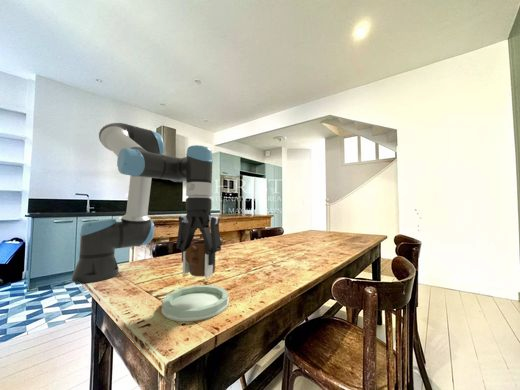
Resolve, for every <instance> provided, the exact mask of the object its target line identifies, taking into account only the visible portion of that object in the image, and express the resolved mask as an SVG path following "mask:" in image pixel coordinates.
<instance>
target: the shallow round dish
mask: <svg viewBox="0 0 520 390" xmlns="http://www.w3.org/2000/svg"><path fill="white" fill-rule="evenodd" d="M229 304H230V298H229V291H227V290H226V289H225V288H223V287H222V286H217V285H211V284H203V285H202V284H200V285H190V286H187V287H182V288H178V289H176V290H174V291H172V292H170V293H167V294H166V295H165V297H164V298H163V299H162V301H161V314H162V316H163V317H164V318H166V319H168V320H170V321H176V322H189V323H190V322H199V321H203V320H206V319H207V320H208V319H211V318H213V317H216V316H218V315H220V314H221V313H224V312H225V310H226V309H228V307H229Z"/></svg>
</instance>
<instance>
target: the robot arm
mask: <svg viewBox="0 0 520 390" xmlns="http://www.w3.org/2000/svg"><path fill="white" fill-rule="evenodd" d="M98 139H99V142H100V143H101V145H102V146H103V147H104V148H106V149H107V150H108V151H111V152H113V154H114V155H116V157H117V162H116V163H117V165H116V166H117V170H118V172H119V173H120V174H122V175H125V176H129V185H128V186H129V187H128V193H127V204H126V213H125V214H124V215H122V216H121V221H117V219H116V218H108V219H107V218H104V219H98V220H93V221H91V220H90V221H87V222H84V223H82V225H81V228H80V232H79V236H80V238H79V239H80V241H79V254H78V255H79V256H78V261H77V263H76V266H75V268H74V269H73V273H72V277H71V279H72V280H71V281H72V282H74V283H79V284H80V283H81V284H82V283H94V282H99V281H104V280H107V279H112V278H113V277H114V278H115V277H116V276H118V275H119V269H120V268H119V266H118V262H117V260H116V256H115V250H117V249H125V248H133V247H141V246H146V245H149V244H150V242H151V241H152V240H153V238H154V234H155V224H154V222H153V220H151V217H150V215H149V214H148V212H149V206H150V205H149V203H150V195H151V188H152V187H151V186H152V179H161V180H167V181H168V180H169V181H172V182H175V183H183V182H185V184H186V186H185V187H186V189H185V192H186V193H185V195H186V197H187V198H186V199H185V210H186V211H187V213H186V215H184V216H179V217H178V232H177V237H176V238H177V240H176V247H175V248H176V249H177V250H178V249H179V250H180V251H181V262H182V275H186V274H190V264H189V263H188V262H187V261H186V258H185V253H186V250H187V248H189V247H190V244H191V242H193V240H194V236H195V233H196V231H197V230H198V229H199V232H200V233H201V236H202V238H203V241H204V243H205V246H206V249H207V253H206V254H205V276H204V278H205V279H207V278H209V277H211V276H213V274H214V273H213V264H214V263H215V264H216V253H217V252H220V251H221V250H222V245H221V236H220V228H219V226H220V225H219V224H220V217H219V216H212V213H211V210H212V208H213V207H212V199H211V197H212V195H213V185H212V184H213V183H212V182H213V162H214V161H213V151H212V150H211V148H210V147H208V146H205V145H199V144H198V145H196V144H195V145H190V146H188V147H187V149H186V154H185V155H186V156H184V157H176V156H171V155H165V154H164V151H165V144H164V140H163V137H162V135H161V134H160V133H158V132H156V131H153V130H151V129H147V128H143V127H138V126H135V125H130V124H128V123H123V122H113V123H108V124H105V125H104V126H102V128H101V129H99V132H98Z"/></svg>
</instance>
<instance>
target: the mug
mask: <svg viewBox="0 0 520 390" xmlns="http://www.w3.org/2000/svg"><path fill="white" fill-rule="evenodd" d="M206 253H207V249H206V246H205V243H204V240H195V241H192V242H191V244H190V247H189V248H187V250H186V253H185V258H186V261H187V262H188V263H189V264H190V272H189V275H191V276H194V277H205V254H206ZM215 272H216V262H215V263H214V264H213V274H214V273H215Z"/></svg>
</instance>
